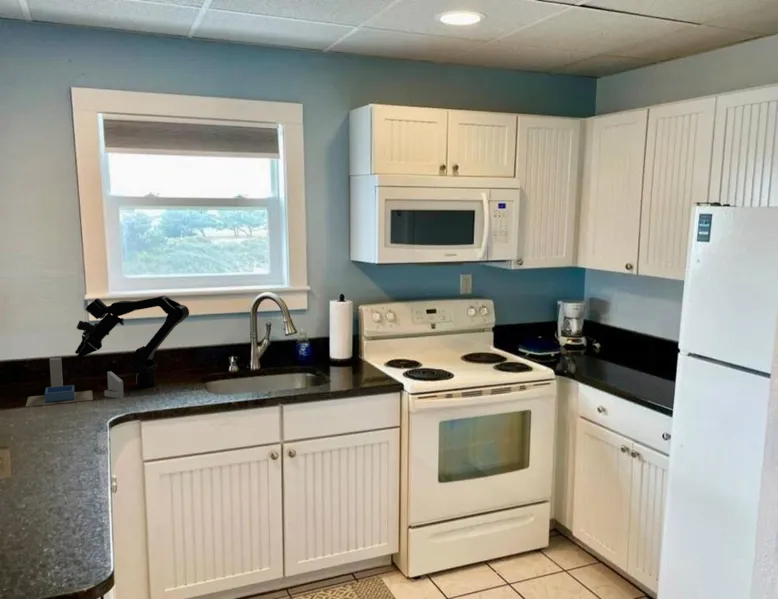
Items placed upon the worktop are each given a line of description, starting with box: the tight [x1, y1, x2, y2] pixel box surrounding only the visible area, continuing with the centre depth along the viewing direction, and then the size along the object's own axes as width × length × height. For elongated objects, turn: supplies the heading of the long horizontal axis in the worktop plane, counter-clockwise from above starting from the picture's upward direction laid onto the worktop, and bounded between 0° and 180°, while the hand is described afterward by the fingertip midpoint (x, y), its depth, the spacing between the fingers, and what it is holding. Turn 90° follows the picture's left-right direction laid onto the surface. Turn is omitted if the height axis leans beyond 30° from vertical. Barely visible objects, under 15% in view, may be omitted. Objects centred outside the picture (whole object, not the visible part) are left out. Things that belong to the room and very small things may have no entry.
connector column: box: [49, 356, 64, 387], centre depth 256 cm, size 4×4×13 cm
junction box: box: [44, 384, 76, 403], centre depth 242 cm, size 10×10×4 cm
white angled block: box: [104, 370, 125, 400], centre depth 246 cm, size 4×10×9 cm, turn 68°
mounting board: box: [25, 390, 94, 408], centre depth 242 cm, size 22×14×1 cm, turn 116°
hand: (76, 355), depth 259 cm, fingers open, 9 cm apart
